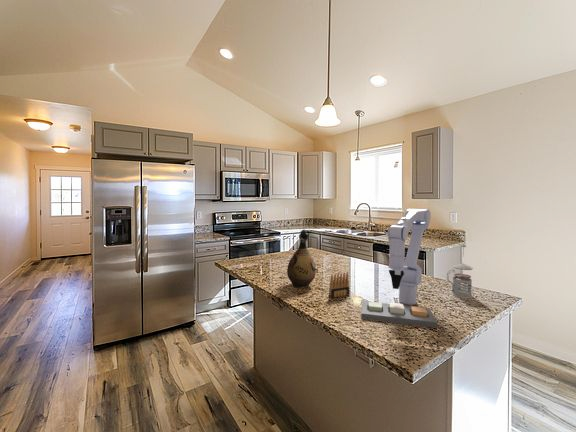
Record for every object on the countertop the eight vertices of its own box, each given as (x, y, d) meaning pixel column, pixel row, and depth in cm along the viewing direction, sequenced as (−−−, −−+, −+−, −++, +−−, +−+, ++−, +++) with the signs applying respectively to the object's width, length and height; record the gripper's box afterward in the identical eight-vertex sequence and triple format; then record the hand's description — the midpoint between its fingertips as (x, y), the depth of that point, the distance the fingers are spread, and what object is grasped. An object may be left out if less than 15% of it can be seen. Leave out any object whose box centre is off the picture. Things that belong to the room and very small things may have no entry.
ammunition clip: (347, 295, 136) (347, 271, 135) (349, 297, 134) (350, 272, 133) (328, 299, 131) (329, 273, 130) (330, 300, 129) (331, 274, 129)
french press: (477, 299, 132) (479, 246, 131) (450, 297, 135) (452, 245, 133) (468, 292, 142) (470, 243, 141) (443, 290, 144) (445, 242, 143)
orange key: (410, 313, 111) (411, 306, 111) (424, 315, 110) (424, 307, 109) (412, 318, 106) (412, 310, 106) (427, 320, 105) (427, 312, 105)
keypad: (362, 307, 121) (362, 300, 121) (429, 315, 113) (429, 307, 113) (361, 321, 107) (361, 313, 107) (436, 330, 100) (437, 322, 100)
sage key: (368, 308, 116) (368, 301, 116) (381, 310, 114) (381, 303, 114) (368, 313, 111) (368, 306, 111) (381, 315, 109) (382, 307, 109)
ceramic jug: (316, 290, 144) (317, 232, 142) (286, 289, 144) (287, 231, 142) (314, 280, 161) (315, 228, 159) (287, 280, 161) (287, 228, 159)
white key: (389, 309, 113) (389, 302, 113) (402, 311, 112) (402, 304, 112) (390, 314, 109) (390, 307, 108) (403, 316, 107) (404, 308, 107)
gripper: (409, 259, 106) (408, 294, 106) (405, 253, 119) (404, 284, 120) (389, 257, 108) (388, 292, 108) (387, 251, 121) (386, 282, 122)
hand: (395, 288), depth 114 cm, fingers closed
